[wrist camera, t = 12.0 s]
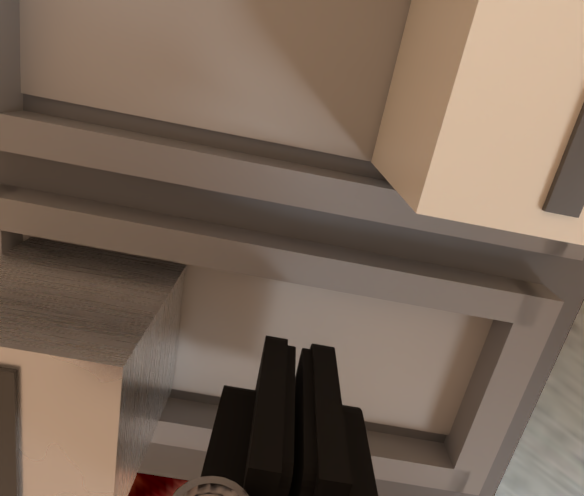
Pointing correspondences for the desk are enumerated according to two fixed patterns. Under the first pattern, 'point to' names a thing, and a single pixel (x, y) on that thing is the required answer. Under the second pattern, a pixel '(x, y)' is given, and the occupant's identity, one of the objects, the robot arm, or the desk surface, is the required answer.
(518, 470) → the desk surface
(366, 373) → the panel
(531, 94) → the ivory knob
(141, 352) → the beige block
